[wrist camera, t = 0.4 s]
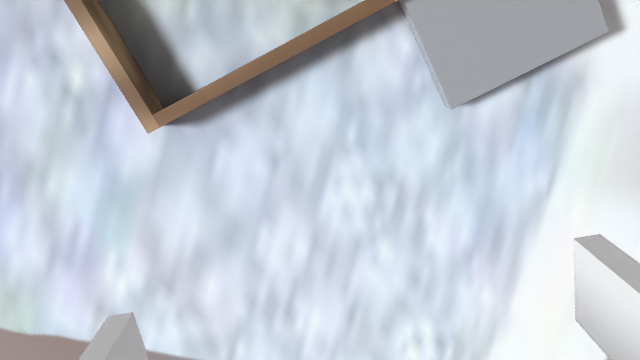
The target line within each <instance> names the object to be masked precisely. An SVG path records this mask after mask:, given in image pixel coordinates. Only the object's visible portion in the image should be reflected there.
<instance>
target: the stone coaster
mask: <svg viewBox="0 0 640 360" xmlns="http://www.w3.org/2000/svg"><path fill="white" fill-rule="evenodd" d="M399 3H400V5H401V7H402V9H403V12H404V14H405V16H406V19H407V21H408V23H409V25H410V28H411V30H412V32H413V34H414V37H415V39H416V41H417V44H418V46H419V48H420V50H421V53H422V55H423V57H424V59H425V62H426V64H427V66H428V69H429V71H430V73H431V75H432V78H433V80H434V82H435V84H436V87H437V89H438V91H439V94H440V96H441V98H442V100H443V103H444V105H445V106H447V107H448V108H450V109H451V110H452V109H454V108H456V107H458V106H460V105H462V104H464V103H466V102H468V101H470V100H472V99H474V98H476V97H478V96H480V95H482V94H484V93H486V92H488V91H490V90H492V89H494V88H496V87H498V86H500V85H502V84H504V83H506V82H508V81H510V80H512V79H514V78H516V77H518V76H520V75H522V74H524V73H526V72H528V71H530V70H532V69H534V68H536V67H538V66H540V65H542V64H544V63H546V62H548V61H550V60H552V59H554V58H556V57H558V56H560V55H562V54H564V53H566V52H568V51H570V50H572V49H574V48H577V47H579V46H581V45H583V44H585V43H587V42H589V41H591V40H593V39H595V38H597V37H599V36H601V35H603V34H605V33H607V32H609V30H608V27H607V24H606V21H605V18H604V15H603V12H602V9H601V6H600V3H599V0H399Z"/></svg>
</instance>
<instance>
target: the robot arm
mask: <svg viewBox="0 0 640 360" xmlns="http://www.w3.org/2000/svg"><path fill="white" fill-rule="evenodd" d="M573 245H574V282H575V319H576V321H577V322H578V323H579V325H580V326H581V327H582V328H583V329H584V330H585V331H586V332H587V334H588V335H589V336H590V337H591V338H592V339H593V340H594V342H595V343H596V344H597V345H598V346H599V347H600V348H601V349H602V351H603V352H604V353H605V354H606V355H607V356H608V357H609V359H610V360H640V263H638V262H637V261H636V260H634V259H633V258H632V257H630V256H629V255H628V254H626V253H625V252H623V251H622V250H621V249H619V248H618V247H617V246H615V245H614V244H613V243H611V242H610V241H609V240H607V239H606V238H605V237H603V236H602V235H600V234H598V235H592V236H586V237H580V238H574V239H573ZM79 360H149V358H148V355H147V352H146V349H145V347H144V344H143V341H142V338H141V335H140V332H139V329H138V326H137V323H136V320H135V317H134V314H133V313H127V314H121V315H115V316H109V317H108V318H107V319H106V321H105V322H104V323H103V325H102V326H101V328H100V329H99V331H98V332H97V334H96V335H95V337H94V338H93V339H92V341H91V342H90V344H89V345H88V347H87V348H86V350H85V351H84V353H83V354H82V355H81V357H80V358H79Z"/></svg>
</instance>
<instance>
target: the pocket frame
mask: <svg viewBox="0 0 640 360" xmlns="http://www.w3.org/2000/svg"><path fill="white" fill-rule="evenodd" d="M64 1H65V3H66V4H67V6H68V7H69V9H70V11H71V12H72V14H73V15H74V17H75V19H76V20H77V22H78V23H79V25H80V26H81V28H82V30H83V31H84V33H85V34H86V36H87V38H88V39H89V41H90V42H91V44H92V46H93V47H94V49H95V50H96V52H97V54H98V55H99V57H100V58H101V60H102V61H103V63H104V65H105V66H106V68H107V69H108V71H109V73H110V74H111V76H112V77H113V79H114V81H115V82H116V84H117V85H118V87H119V89H120V90H121V92H122V93H123V95H124V96H125V98H126V100H127V101H128V103H129V104H130V106H131V108H132V109H133V111H134V112H135V114H136V116H137V117H138V119H139V120H140V122H141V124H142V125H143V127H144V128H145V130H146V131H147V133H150V132H152V131H154V130H156V129H158V128H160V127H161V126H163V125H165V124H167V123H169V122H171V121H173V120H175V119H176V118H178V117H180V116H182V115H184V114H186V113H188V112H190V111H191V110H193V109H195V108H197V107H199V106H201V105H203V104H205V103H206V102H208V101H210V100H212V99H214V98H216V97H218V96H220V95H221V94H223V93H225V92H227V91H229V90H231V89H233V88H234V87H236V86H238V85H240V84H242V83H244V82H246V81H248V80H249V79H251V78H253V77H255V76H257V75H259V74H261V73H263V72H264V71H266V70H268V69H270V68H272V67H274V66H276V65H278V64H279V63H281V62H283V61H285V60H287V59H289V58H291V57H293V56H294V55H296V54H298V53H300V52H302V51H304V50H306V49H308V48H309V47H311V46H313V45H315V44H317V43H319V42H321V41H323V40H324V39H326V38H328V37H330V36H332V35H334V34H336V33H338V32H339V31H341V30H343V29H345V28H347V27H349V26H351V25H352V24H354V23H356V22H358V21H360V20H362V19H364V18H366V17H367V16H369V15H371V14H373V13H375V12H377V11H379V10H381V9H382V8H384V7H386V6H388V5H390V4H392V3H394V2H396V1H397V0H365V1H363V2H361V3H359V4H357V5H355V6H354V7H352V8H350V9H348V10H346V11H344V12H342V13H341V14H339V15H337V16H335V17H333V18H331V19H329V20H328V21H326V22H324V23H322V24H320V25H318V26H316V27H315V28H313V29H311V30H309V31H307V32H305V33H303V34H302V35H300V36H298V37H296V38H294V39H292V40H290V41H289V42H287V43H285V44H283V45H281V46H279V47H277V48H276V49H274V50H272V51H270V52H268V53H266V54H264V55H263V56H261V57H259V58H257V59H255V60H253V61H251V62H250V63H248V64H246V65H244V66H242V67H240V68H238V69H237V70H235V71H233V72H231V73H229V74H227V75H225V76H224V77H222V78H220V79H218V80H216V81H214V82H212V83H211V84H209V85H207V86H205V87H203V88H201V89H200V90H198V91H196V92H194V93H192V94H190V95H188V96H187V97H185V98H183V99H181V100H179V101H177V102H175V103H174V104H172V105H170V106H168V107H166V108H164V107H163V106H162V104H161V102H160V101H159V99H158V97H157V96H156V94H155V92H154V91H153V89H152V88H151V86H150V84H149V83H148V81H147V79H146V78H145V76H144V74H143V73H142V71H141V70H140V68H139V66H138V65H137V63H136V61H135V60H134V58H133V56H132V55H131V53H130V51H129V50H128V48H127V47H126V45H125V43H124V42H123V40H122V38H121V37H120V35H119V33H118V32H117V30H116V28H115V27H114V25H113V24H112V22H111V20H110V19H109V17H108V15H107V14H106V12H105V10H104V9H103V7H102V5H101V4H100V2H99V1H98V0H64Z"/></svg>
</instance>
